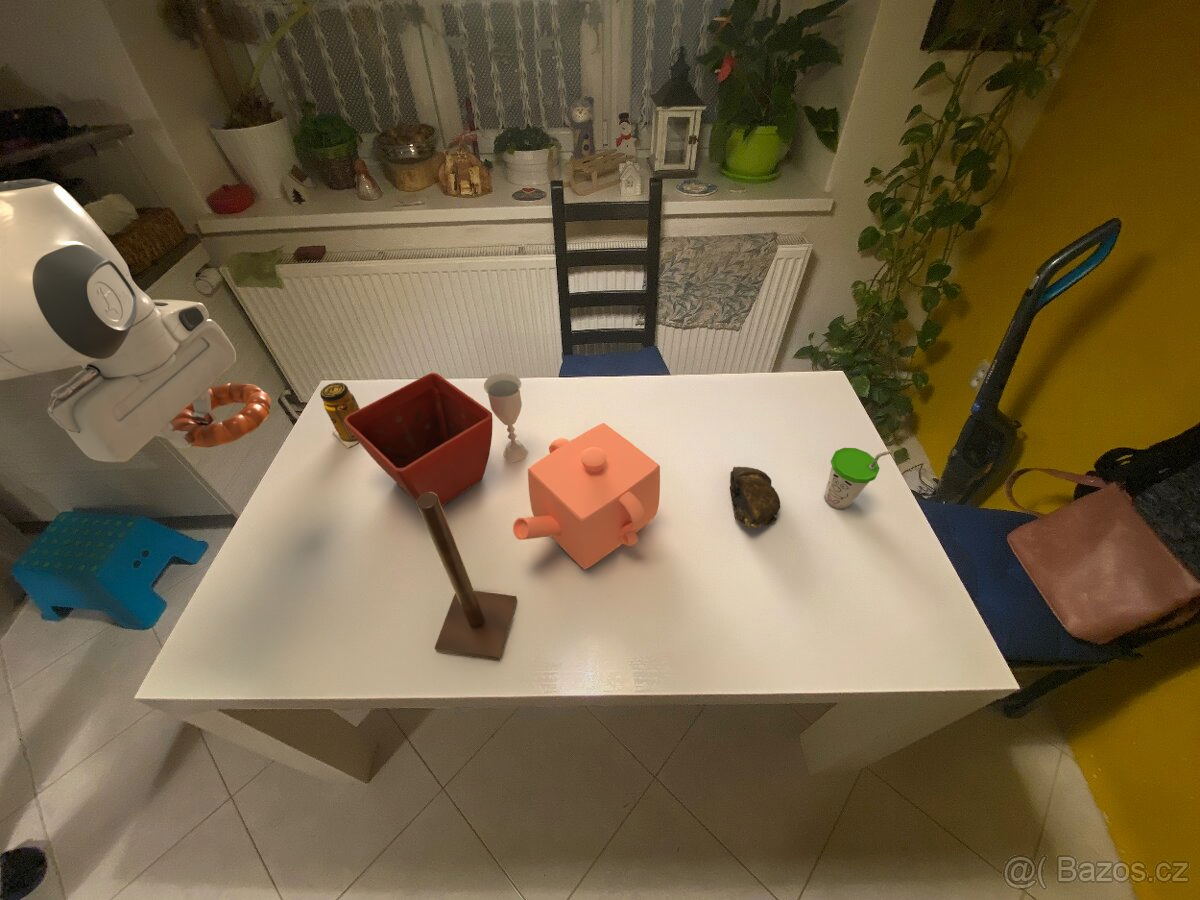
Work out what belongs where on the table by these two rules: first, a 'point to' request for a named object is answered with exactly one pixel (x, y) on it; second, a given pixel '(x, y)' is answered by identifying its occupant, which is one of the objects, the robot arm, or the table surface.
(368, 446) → the flower pot
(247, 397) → the ring
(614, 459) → the teapot
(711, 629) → the table surface
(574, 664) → the table surface
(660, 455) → the table surface
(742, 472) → the dark brown irregular lump
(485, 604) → the stand
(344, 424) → the condiment
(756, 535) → the table surface
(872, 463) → the cup
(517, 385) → the chalice
